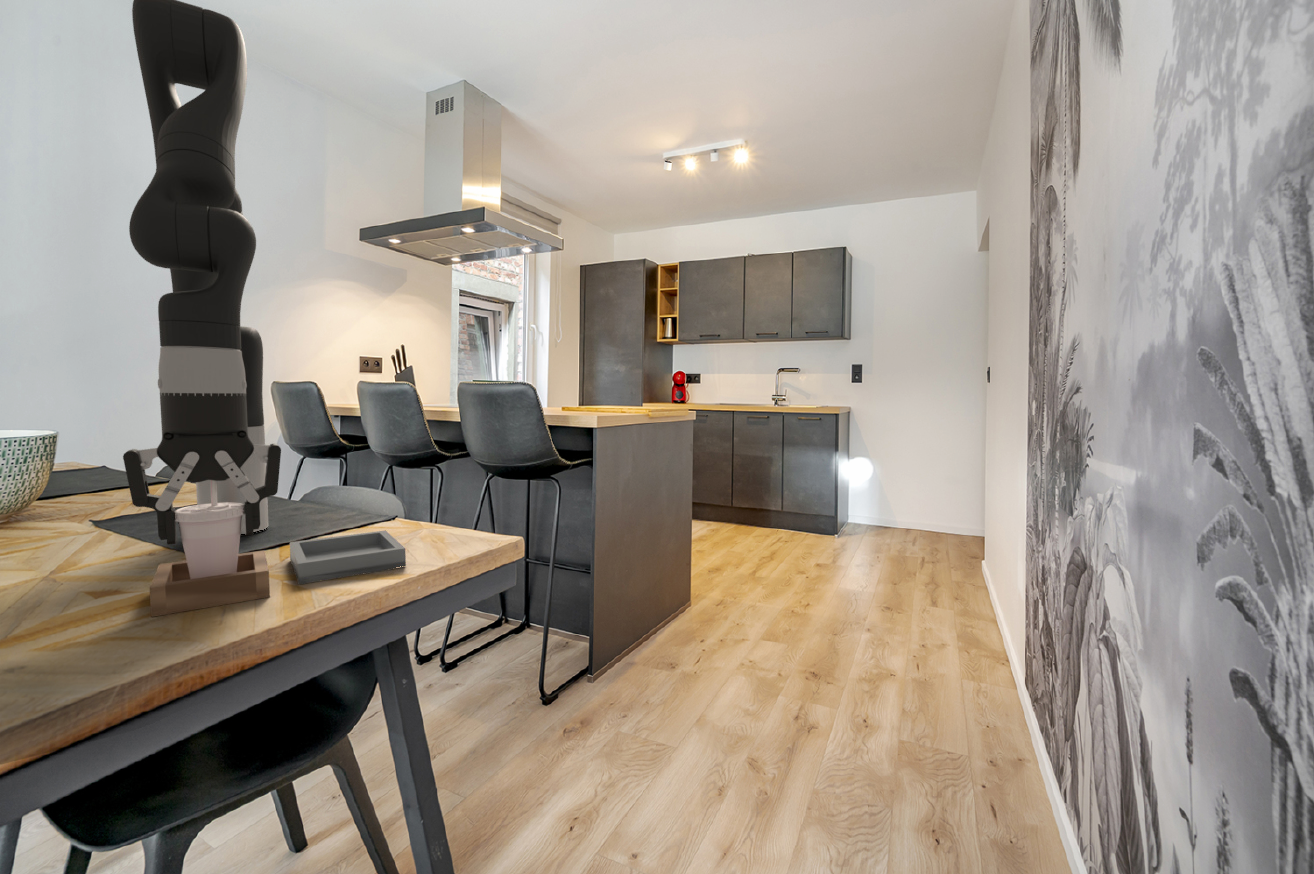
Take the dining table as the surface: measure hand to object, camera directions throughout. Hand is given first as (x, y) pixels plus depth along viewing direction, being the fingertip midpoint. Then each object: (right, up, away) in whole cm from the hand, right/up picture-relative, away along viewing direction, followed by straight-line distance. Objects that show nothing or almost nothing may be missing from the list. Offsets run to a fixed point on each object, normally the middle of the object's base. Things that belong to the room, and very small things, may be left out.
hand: (211, 537), depth 65 cm
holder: (0, -6, 0) cm, 6 cm away
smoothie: (0, -6, +1) cm, 6 cm away
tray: (+9, -6, +12) cm, 16 cm away
